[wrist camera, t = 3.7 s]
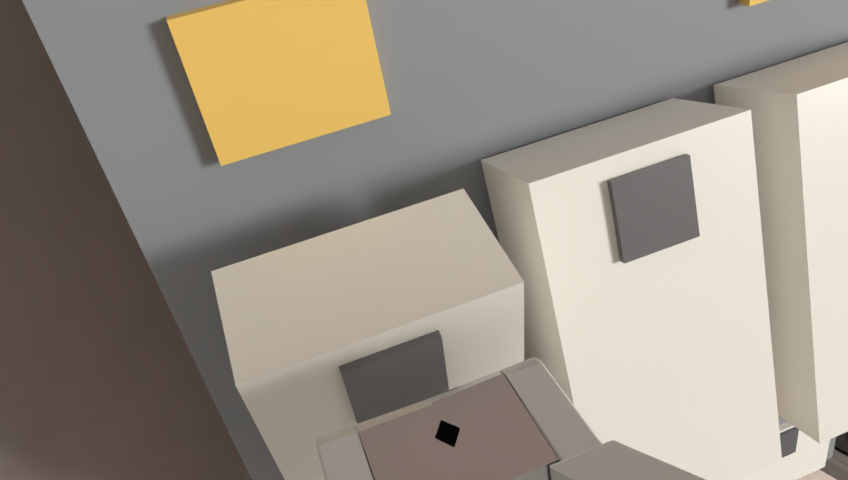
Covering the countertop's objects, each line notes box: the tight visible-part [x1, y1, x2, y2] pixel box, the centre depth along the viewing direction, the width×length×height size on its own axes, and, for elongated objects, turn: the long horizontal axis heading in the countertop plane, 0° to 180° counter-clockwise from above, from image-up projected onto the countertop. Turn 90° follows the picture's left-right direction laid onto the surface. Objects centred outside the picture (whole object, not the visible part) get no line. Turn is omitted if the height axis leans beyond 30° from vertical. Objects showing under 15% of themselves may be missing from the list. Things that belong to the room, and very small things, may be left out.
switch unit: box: [22, 0, 848, 480], centre depth 19 cm, size 22×18×6 cm
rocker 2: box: [481, 98, 782, 480], centre depth 15 cm, size 8×4×3 cm, turn 10°
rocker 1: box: [211, 188, 524, 480], centre depth 14 cm, size 8×4×2 cm, turn 11°
